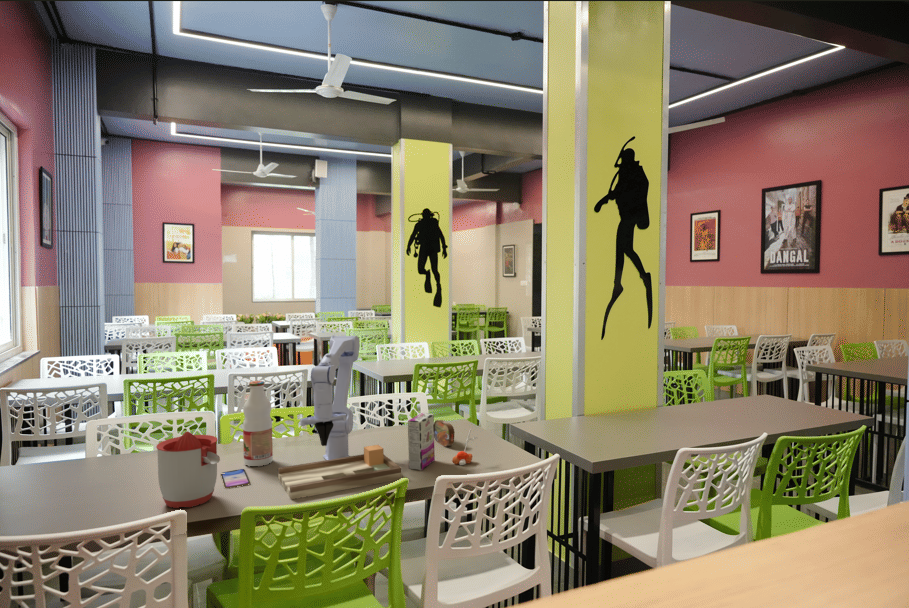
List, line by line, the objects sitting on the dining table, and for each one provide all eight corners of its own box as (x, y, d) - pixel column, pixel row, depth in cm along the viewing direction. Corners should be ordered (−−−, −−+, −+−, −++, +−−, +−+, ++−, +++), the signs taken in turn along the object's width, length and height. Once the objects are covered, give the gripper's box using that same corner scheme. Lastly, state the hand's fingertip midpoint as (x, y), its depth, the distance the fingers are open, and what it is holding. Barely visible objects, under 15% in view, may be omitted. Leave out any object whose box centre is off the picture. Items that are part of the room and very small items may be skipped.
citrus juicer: (197, 516, 147) (195, 441, 146) (144, 509, 152) (142, 437, 151) (235, 494, 162) (234, 426, 161) (186, 488, 167) (184, 422, 166)
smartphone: (224, 490, 166) (224, 487, 166) (219, 475, 179) (219, 472, 179) (251, 485, 169) (251, 482, 169) (244, 471, 183) (244, 468, 183)
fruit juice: (264, 468, 185) (262, 384, 184) (238, 466, 186) (236, 384, 185) (277, 459, 194) (276, 379, 193) (252, 457, 195) (250, 379, 194)
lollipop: (481, 464, 187) (481, 429, 186) (454, 467, 184) (454, 431, 184) (475, 459, 193) (475, 425, 192) (449, 461, 190) (449, 427, 189)
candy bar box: (421, 459, 193) (421, 412, 192) (435, 460, 191) (434, 413, 190) (407, 469, 182) (407, 420, 182) (421, 471, 181) (421, 421, 180)
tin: (432, 439, 218) (432, 417, 217) (439, 438, 219) (439, 417, 219) (448, 449, 204) (448, 426, 204) (456, 448, 205) (455, 425, 205)
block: (364, 461, 184) (363, 446, 184) (378, 459, 187) (378, 444, 186) (369, 466, 180) (368, 450, 180) (383, 463, 182) (383, 448, 182)
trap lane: (278, 478, 174) (278, 467, 174) (380, 461, 190) (380, 451, 190) (290, 499, 157) (290, 487, 157) (401, 478, 173) (401, 467, 173)
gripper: (303, 408, 171) (304, 451, 171) (348, 403, 178) (349, 444, 178) (298, 403, 177) (299, 445, 177) (342, 399, 184) (343, 439, 184)
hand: (323, 445), depth 178 cm, fingers closed
